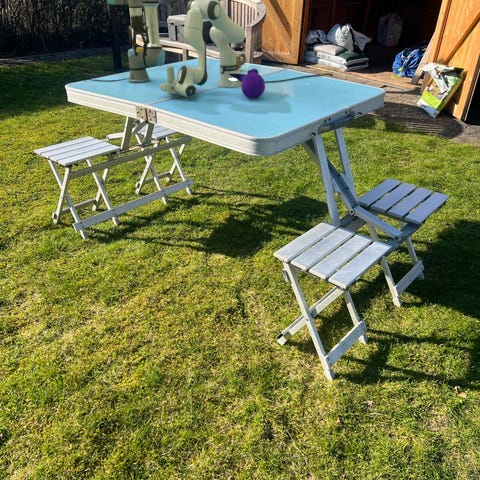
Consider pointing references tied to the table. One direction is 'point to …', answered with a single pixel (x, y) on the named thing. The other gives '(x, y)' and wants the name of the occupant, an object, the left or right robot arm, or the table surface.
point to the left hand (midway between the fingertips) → (141, 55)
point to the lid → (139, 50)
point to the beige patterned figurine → (239, 59)
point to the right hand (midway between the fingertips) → (171, 83)
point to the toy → (251, 83)
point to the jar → (170, 74)
